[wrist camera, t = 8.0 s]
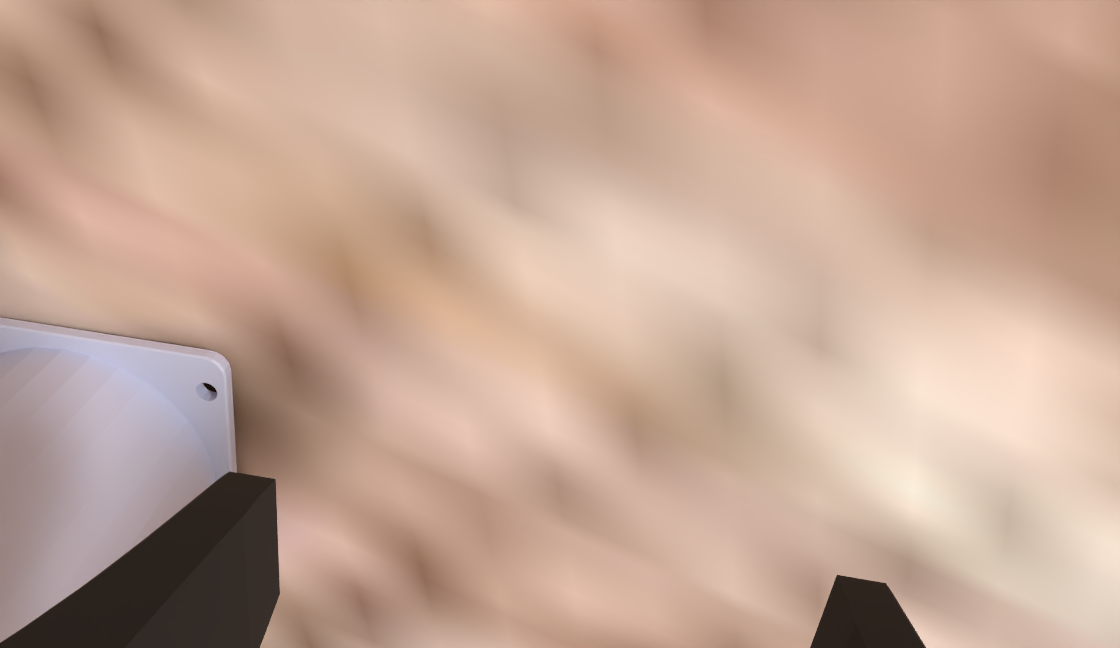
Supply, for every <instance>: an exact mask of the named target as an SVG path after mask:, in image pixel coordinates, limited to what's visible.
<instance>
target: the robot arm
mask: <svg viewBox="0 0 1120 648" xmlns="http://www.w3.org/2000/svg"><path fill="white" fill-rule="evenodd" d="M203 383H208V384H210V385H212V386H213V387H214V388H215V389H216V391H217V392H212V391H210V390H208V389H207V388H206V387H205V386H204V384H203ZM279 594H280V588H279V561H278V534H277V508H276V481H275V479H271V478H265V477H259V476H253V475H247V474H241V473H237V462H236V445H235V427H234V410H233V392H232V375H231V368H230V364H229V363H228V361H227V360H226V359H225V357H223V356H222V355H220V354H219V353H217V352H214V351H211V350H206V349H200V348H193V347H187V346H181V345H174V344H168V343H161V342H155V341H149V340H142V339H136V338H129V337H123V336H117V335H110V334H104V333H97V332H91V331H85V330H78V329H72V328H66V327H59V326H53V325H46V324H40V323H34V322H27V321H21V320H14V319H8V318H2V317H0V648H260V645H261V643H262V640H263V638H264V635H265V632H266V630H267V627H268V624H269V622H270V619H271V616H272V613H273V611H274V608H275V605H276V603H277V600H278V597H279ZM810 648H926V647H925V645H924V644H923V642H922V640H921V639H920V637H919V636H918V634H917V632H916V631H915V629H914V627H913V626H912V624H911V622H910V621H909V619H908V618H907V616H906V614H905V613H904V611H903V609H902V608H901V606H900V604H899V603H898V601H897V600H896V598H895V596H894V595H893V593H892V592H891V590H890V589H889V587H888V586H887V584H886V583H881V582H875V581H869V580H863V579H857V578H852V577H846V576H840V575H837V577H836V579H835V582H834V585H833V587H832V590H831V593H830V596H829V598H828V601H827V604H826V606H825V609H824V612H823V615H822V617H821V620H820V623H819V625H818V628H817V631H816V634H815V636H814V639H813V642H812V645H811V647H810Z"/></svg>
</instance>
